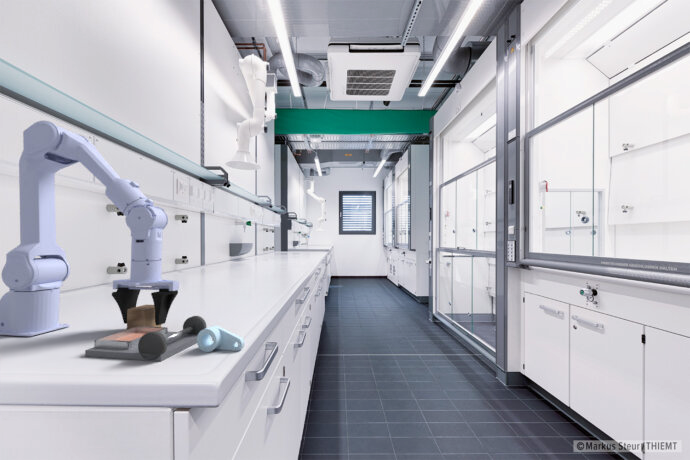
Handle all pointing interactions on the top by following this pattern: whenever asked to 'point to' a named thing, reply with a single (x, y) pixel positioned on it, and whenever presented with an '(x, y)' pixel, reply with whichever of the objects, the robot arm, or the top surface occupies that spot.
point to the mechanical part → (218, 339)
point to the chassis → (148, 342)
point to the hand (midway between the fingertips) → (144, 323)
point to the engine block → (141, 316)
